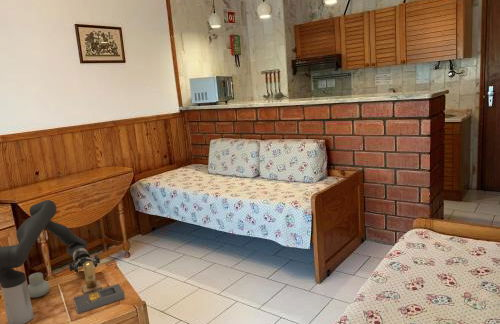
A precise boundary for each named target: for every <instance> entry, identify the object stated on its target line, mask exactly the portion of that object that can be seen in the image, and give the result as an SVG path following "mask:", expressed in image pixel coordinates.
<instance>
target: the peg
mask: <svg viewBox="0 0 500 324" xmlns="http://www.w3.org/2000/svg"><path fill="white" fill-rule="evenodd" d="M93 263H94V262H93V261H87V262H84V263H83V267H82V268H83V273H84V280H85V284H86V286H87V288H88V289H91V288H94V287H96V286H97V285H96V281H97V279H96V273H95V266H94V265H93Z"/></svg>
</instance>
